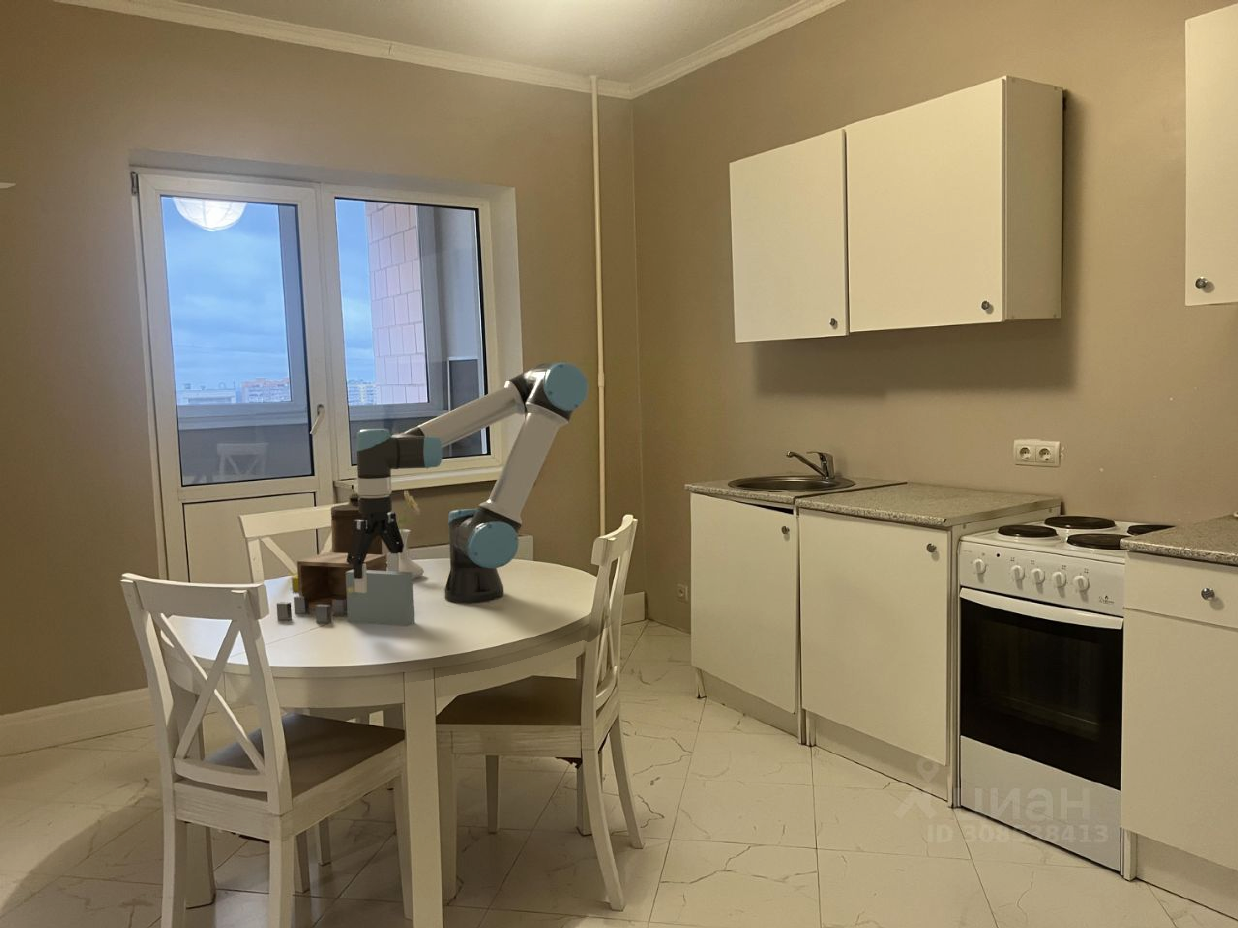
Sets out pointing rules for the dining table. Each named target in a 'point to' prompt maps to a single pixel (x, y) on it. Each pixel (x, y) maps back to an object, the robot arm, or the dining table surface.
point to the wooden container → (348, 527)
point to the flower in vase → (404, 560)
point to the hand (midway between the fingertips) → (377, 586)
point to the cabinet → (330, 576)
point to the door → (382, 598)
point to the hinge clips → (303, 607)
